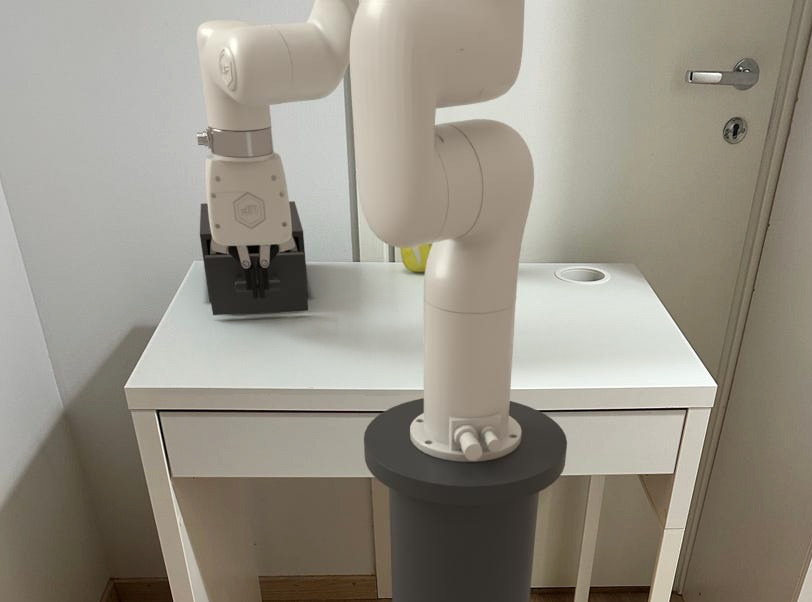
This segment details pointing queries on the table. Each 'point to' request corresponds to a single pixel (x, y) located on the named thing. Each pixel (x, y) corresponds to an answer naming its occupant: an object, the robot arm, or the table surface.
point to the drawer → (232, 289)
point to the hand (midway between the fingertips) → (258, 295)
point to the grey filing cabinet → (206, 234)
